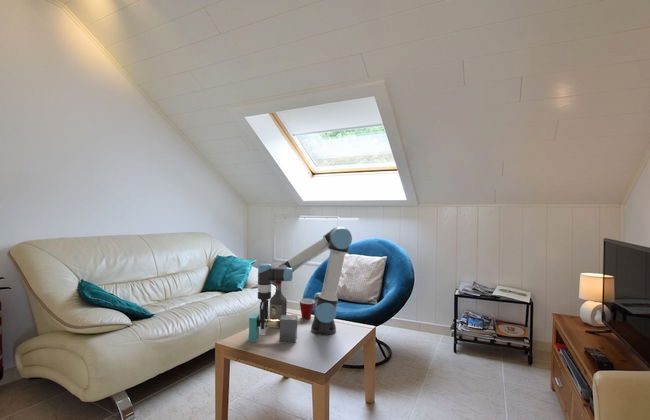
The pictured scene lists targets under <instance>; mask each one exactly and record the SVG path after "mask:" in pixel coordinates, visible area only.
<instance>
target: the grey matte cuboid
mask: <svg viewBox="0 0 650 420" xmlns="http://www.w3.org/2000/svg"><path fill="white" fill-rule="evenodd" d="M278 339H279V340H278V341H279V343H285V344H286V343H288V344H289V343H290V344H291V343H292V344H293V343H294V344H295V343H296V342H297V339H298V315H296V314H295V315H294V314H286V315H282V316H281V318H280V328H279V338H278Z"/></svg>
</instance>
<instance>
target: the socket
mask: <svg viewBox="0 0 650 420" xmlns="http://www.w3.org/2000/svg"><path fill="white" fill-rule="evenodd" d="M257 319H260V313H252V314H251V315H250V316H249V317H248V342H250V343H251V342H253V343H256V342H257V341H258V339H259V337H260V327H257Z"/></svg>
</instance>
